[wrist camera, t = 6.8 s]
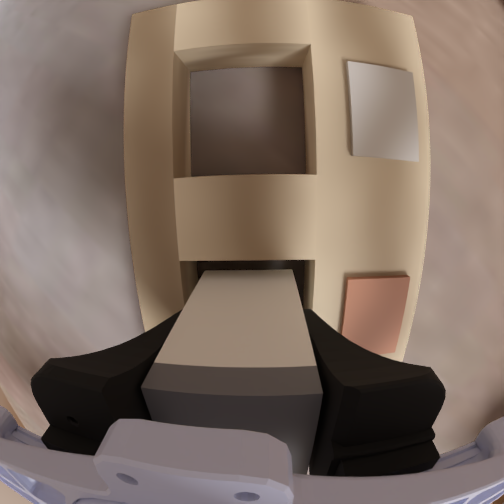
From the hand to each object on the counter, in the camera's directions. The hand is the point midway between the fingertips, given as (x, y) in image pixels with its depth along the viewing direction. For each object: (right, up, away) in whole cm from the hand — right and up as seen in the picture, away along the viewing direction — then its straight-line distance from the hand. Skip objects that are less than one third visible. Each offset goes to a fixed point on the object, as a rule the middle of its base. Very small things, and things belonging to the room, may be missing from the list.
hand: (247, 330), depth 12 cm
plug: (0, 0, +2) cm, 2 cm away
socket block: (+2, +5, +2) cm, 6 cm away
